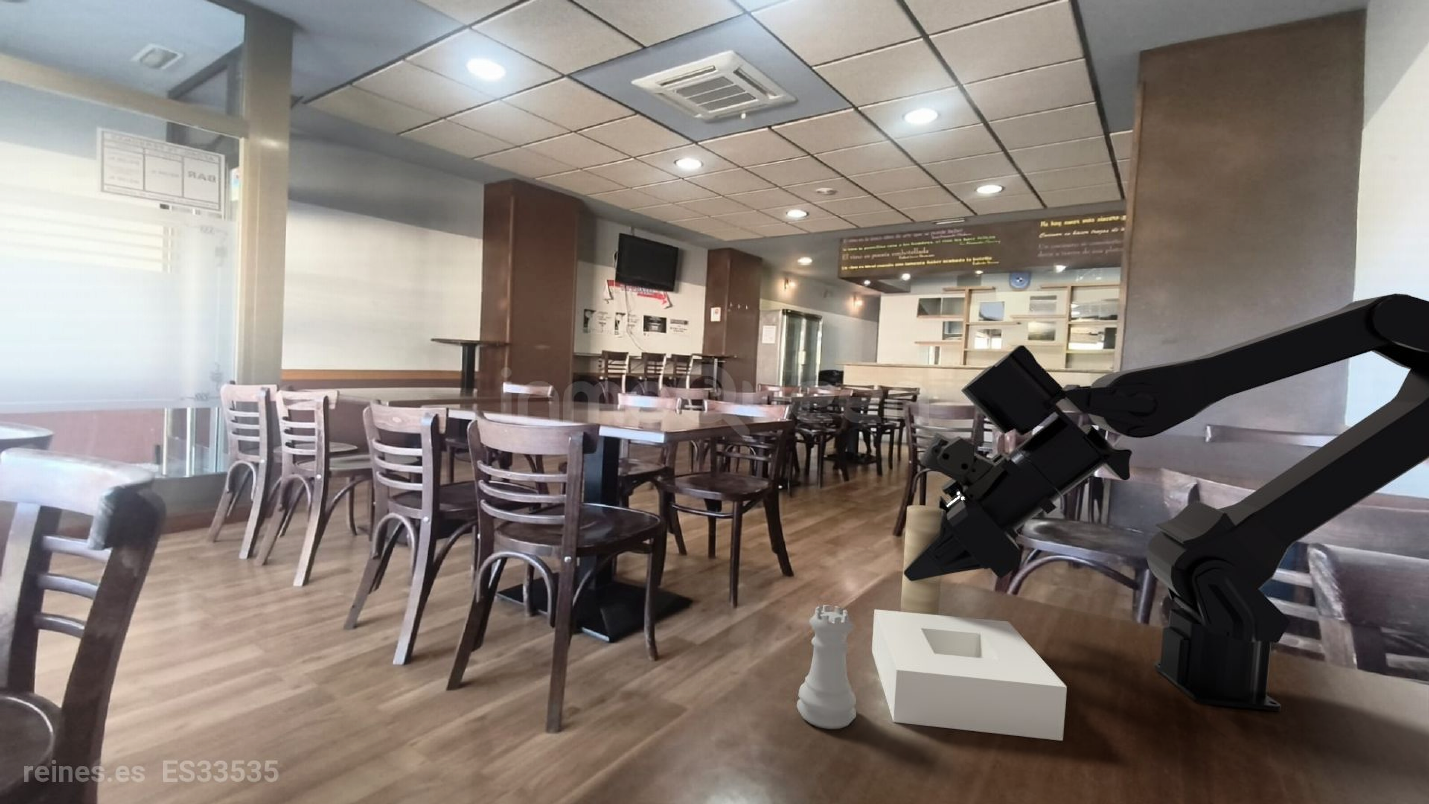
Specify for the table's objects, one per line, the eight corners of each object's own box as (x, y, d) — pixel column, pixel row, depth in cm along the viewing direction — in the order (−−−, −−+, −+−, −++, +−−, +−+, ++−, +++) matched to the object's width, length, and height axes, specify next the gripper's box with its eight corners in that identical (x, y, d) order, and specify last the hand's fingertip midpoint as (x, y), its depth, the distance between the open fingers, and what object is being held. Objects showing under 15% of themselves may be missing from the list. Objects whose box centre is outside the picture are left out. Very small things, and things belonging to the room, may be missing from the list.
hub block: (1005, 664, 57) (1008, 621, 57) (1062, 740, 45) (1066, 687, 45) (871, 651, 58) (874, 609, 58) (893, 721, 46) (896, 669, 46)
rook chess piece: (861, 733, 45) (868, 625, 44) (799, 730, 45) (805, 621, 44) (849, 700, 49) (855, 602, 49) (793, 697, 49) (798, 598, 49)
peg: (932, 632, 63) (940, 506, 62) (940, 647, 60) (949, 514, 59) (896, 629, 64) (904, 504, 63) (902, 644, 60) (911, 511, 59)
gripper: (969, 404, 68) (860, 492, 72) (985, 411, 50) (841, 528, 54) (1043, 482, 66) (927, 568, 70) (1088, 518, 48) (929, 632, 52)
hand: (907, 570), depth 62 cm, fingers closed on peg, 4 cm apart
